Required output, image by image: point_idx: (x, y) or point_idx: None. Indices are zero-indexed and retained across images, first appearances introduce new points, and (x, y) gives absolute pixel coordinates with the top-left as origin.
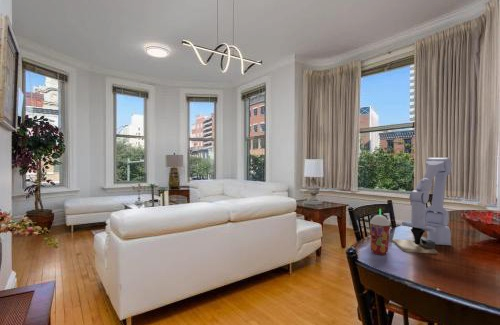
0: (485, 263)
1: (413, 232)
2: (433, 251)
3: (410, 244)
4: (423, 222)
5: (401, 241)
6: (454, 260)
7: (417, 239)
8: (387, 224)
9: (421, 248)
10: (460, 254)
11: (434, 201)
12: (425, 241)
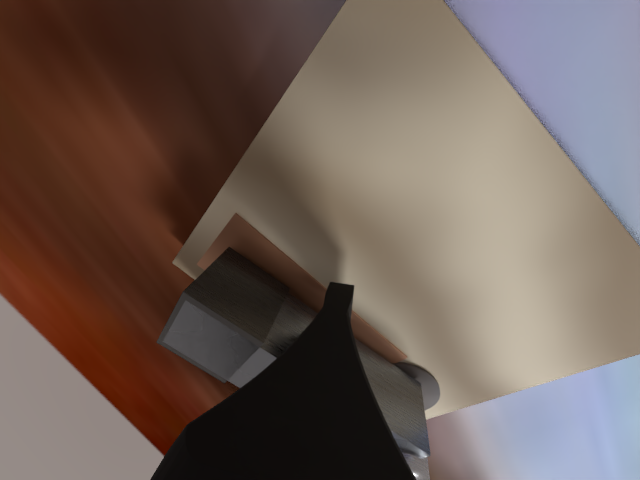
0: (20, 288)
1: (349, 425)
2: (186, 241)
3: (413, 276)
4: None
5: (542, 311)
6: (52, 197)
7: (313, 321)
8: None
9: (271, 228)
10: (151, 344)
11: None
12: (215, 309)
